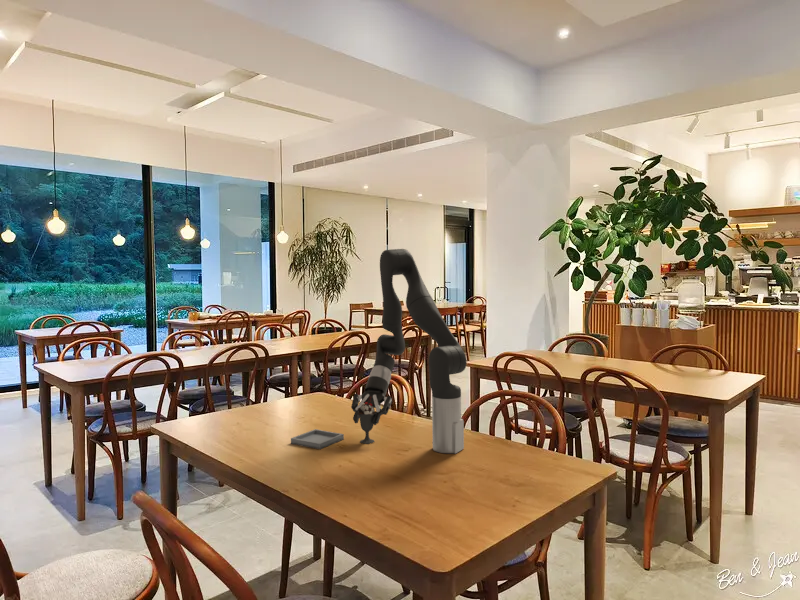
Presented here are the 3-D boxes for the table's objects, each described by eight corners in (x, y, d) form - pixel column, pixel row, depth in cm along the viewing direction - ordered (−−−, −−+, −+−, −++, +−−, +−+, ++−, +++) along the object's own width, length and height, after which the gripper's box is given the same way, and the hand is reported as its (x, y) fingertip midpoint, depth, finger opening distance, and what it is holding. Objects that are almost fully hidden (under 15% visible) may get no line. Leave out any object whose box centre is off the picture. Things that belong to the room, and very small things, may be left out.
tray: (343, 439, 187) (343, 434, 187) (319, 449, 176) (319, 443, 176) (315, 434, 193) (315, 429, 193) (290, 443, 182) (290, 438, 182)
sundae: (378, 438, 187) (377, 395, 186) (375, 445, 180) (374, 400, 179) (359, 438, 187) (358, 395, 187) (355, 444, 180) (355, 399, 180)
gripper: (356, 374, 192) (341, 415, 182) (394, 376, 187) (381, 419, 176) (363, 386, 197) (349, 426, 187) (400, 388, 192) (387, 430, 182)
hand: (364, 422), depth 182 cm, fingers closed on sundae, 6 cm apart
